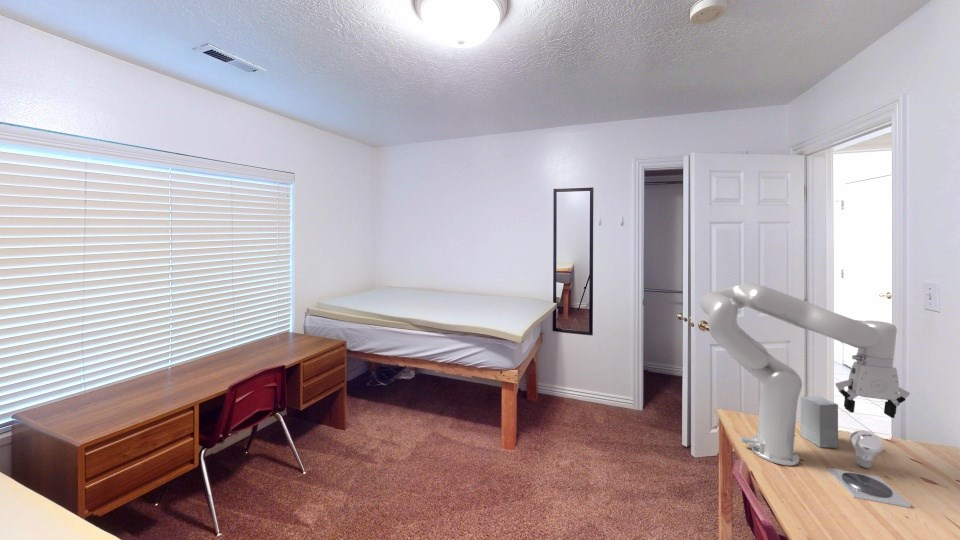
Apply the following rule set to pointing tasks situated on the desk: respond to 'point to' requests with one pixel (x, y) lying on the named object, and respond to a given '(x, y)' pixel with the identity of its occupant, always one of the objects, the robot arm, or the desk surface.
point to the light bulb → (865, 447)
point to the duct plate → (868, 487)
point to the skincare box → (819, 421)
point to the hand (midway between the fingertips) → (868, 413)
